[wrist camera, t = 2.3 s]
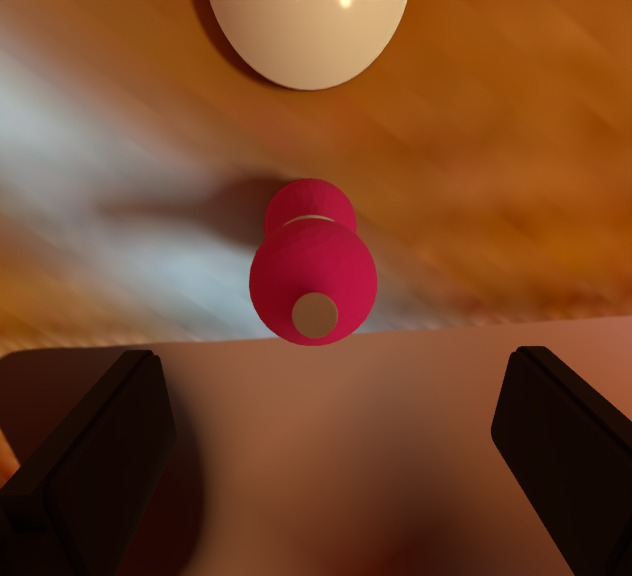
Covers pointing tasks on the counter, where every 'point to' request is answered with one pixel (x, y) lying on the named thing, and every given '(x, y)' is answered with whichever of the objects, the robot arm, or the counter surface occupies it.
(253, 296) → the pepper mill
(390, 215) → the counter surface
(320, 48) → the disc
